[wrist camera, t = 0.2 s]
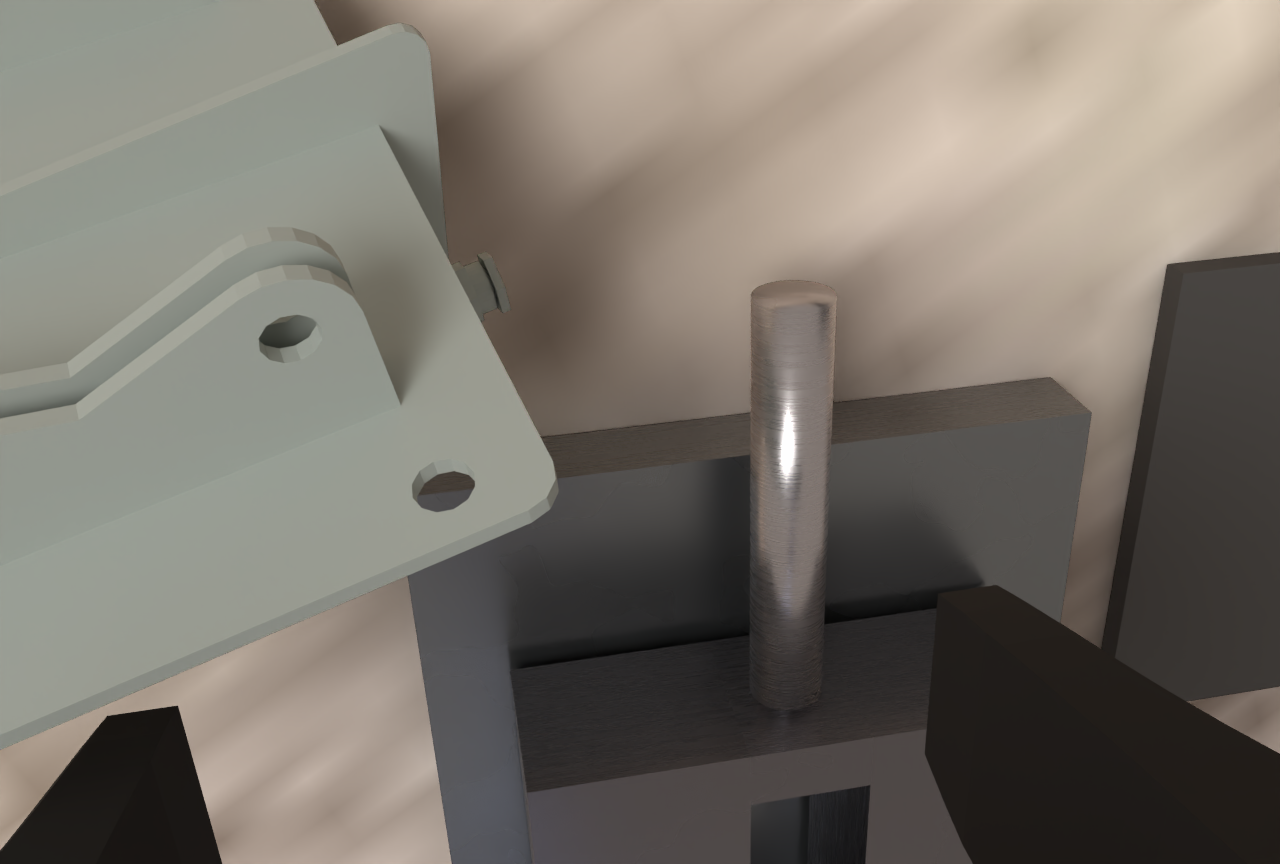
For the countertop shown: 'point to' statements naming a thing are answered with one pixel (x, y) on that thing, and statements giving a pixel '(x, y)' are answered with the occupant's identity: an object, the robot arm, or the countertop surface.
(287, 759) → the countertop surface
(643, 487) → the base
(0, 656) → the metal bracket
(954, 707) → the robot arm
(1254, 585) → the key mat
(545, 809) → the grey slotted holder
